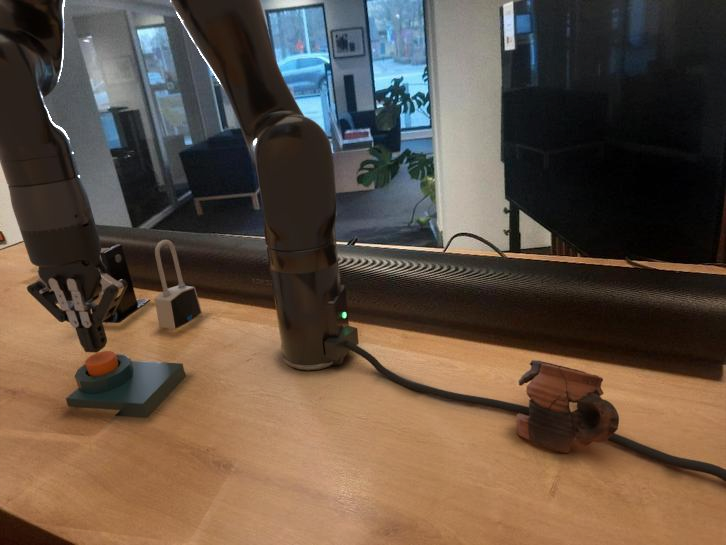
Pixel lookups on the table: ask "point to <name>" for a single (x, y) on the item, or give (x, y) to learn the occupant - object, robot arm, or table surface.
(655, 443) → the table surface
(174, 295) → the padlock
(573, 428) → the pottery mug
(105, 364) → the button
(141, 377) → the control block
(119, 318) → the black lever base
